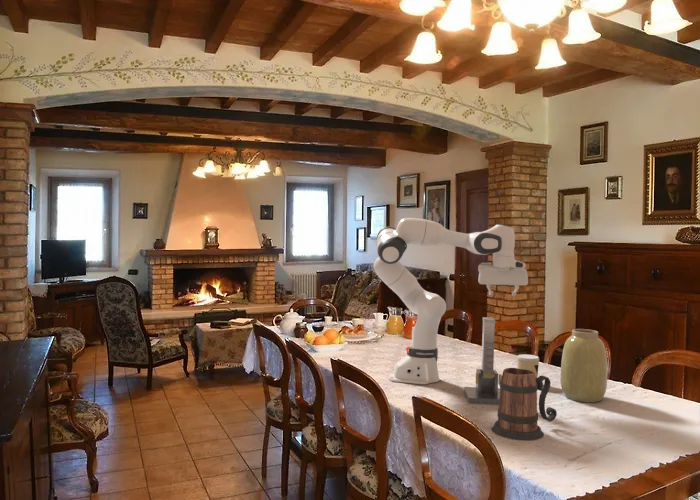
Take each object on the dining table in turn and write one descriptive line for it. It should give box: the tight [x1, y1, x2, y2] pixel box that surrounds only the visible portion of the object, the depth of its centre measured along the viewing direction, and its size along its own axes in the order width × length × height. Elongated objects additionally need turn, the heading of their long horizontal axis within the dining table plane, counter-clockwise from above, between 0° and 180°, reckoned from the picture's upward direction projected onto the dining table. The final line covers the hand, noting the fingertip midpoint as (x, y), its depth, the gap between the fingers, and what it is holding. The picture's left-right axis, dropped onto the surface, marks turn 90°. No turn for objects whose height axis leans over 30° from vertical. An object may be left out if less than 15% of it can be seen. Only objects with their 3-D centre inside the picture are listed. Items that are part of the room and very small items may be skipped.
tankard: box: [490, 367, 558, 442], centre depth 187 cm, size 24×17×20 cm
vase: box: [560, 328, 608, 403], centre depth 226 cm, size 17×17×27 cm
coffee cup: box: [516, 353, 540, 379], centre depth 246 cm, size 9×9×12 cm
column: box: [481, 316, 496, 378], centre depth 223 cm, size 4×6×23 cm, turn 174°
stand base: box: [463, 368, 503, 406], centre depth 223 cm, size 16×16×11 cm
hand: (502, 295), depth 238 cm, fingers open, 8 cm apart
